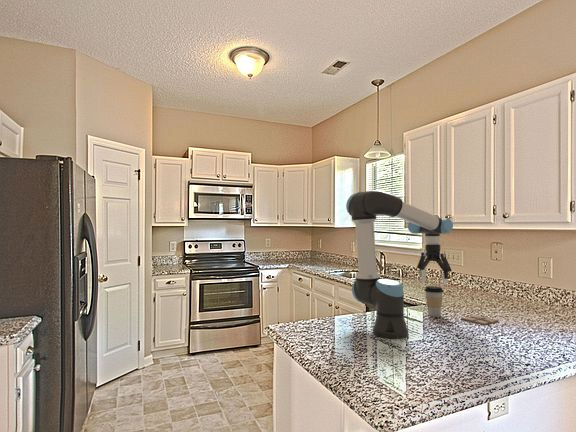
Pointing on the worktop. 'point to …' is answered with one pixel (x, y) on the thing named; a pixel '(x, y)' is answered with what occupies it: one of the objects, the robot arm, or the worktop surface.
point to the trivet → (480, 320)
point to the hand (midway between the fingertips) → (434, 283)
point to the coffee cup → (434, 300)
